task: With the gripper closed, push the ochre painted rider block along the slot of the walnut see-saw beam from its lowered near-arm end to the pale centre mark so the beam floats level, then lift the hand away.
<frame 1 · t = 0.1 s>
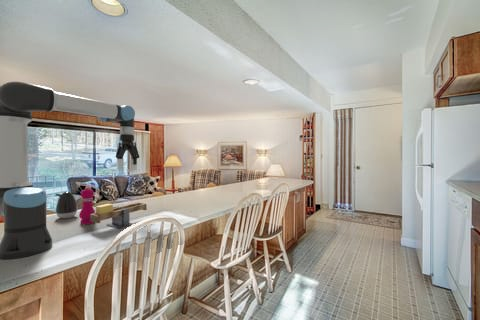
hand: (127, 169, 134), 28 cm above the breakfast bar, fingers open, 13 cm apart
magenta figurine: (87, 223, 120), on the breakfast bar
rider: (104, 214, 110), point 7 cm above the breakfast bar, touching beam
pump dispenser: (66, 217, 131), on the breakfast bar
beam: (120, 211, 117), point 7 cm above the breakfast bar, hinge at -2.5°, touching rider
fulcrum: (120, 225, 117), on the breakfast bar
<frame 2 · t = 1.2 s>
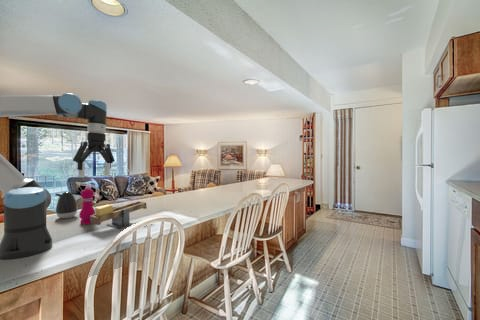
hand: (94, 176, 109), 26 cm above the breakfast bar, fingers open, 13 cm apart
beam: (120, 211, 117), point 7 cm above the breakfast bar, hinge at -6.1°, touching rider
everything else where it was.
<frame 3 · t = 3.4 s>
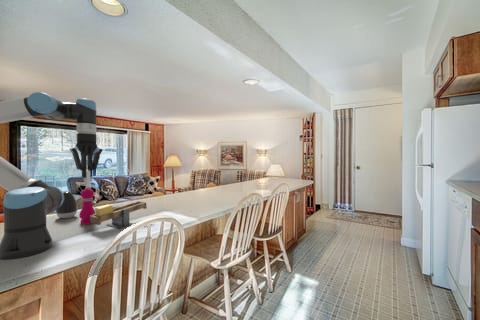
hand: (87, 184, 103), 23 cm above the breakfast bar, fingers closed
nothing on the breakfast bar moved.
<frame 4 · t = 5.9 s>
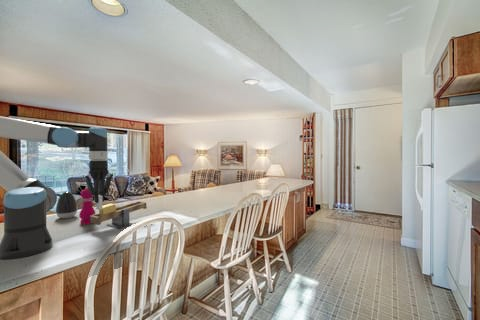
hand: (99, 209, 107), 11 cm above the breakfast bar, fingers closed
rider: (108, 214, 111), point 7 cm above the breakfast bar, tilted 6°, touching gripper
beam: (120, 211, 117), point 7 cm above the breakfast bar, hinge at -6.0°
everything else where it was.
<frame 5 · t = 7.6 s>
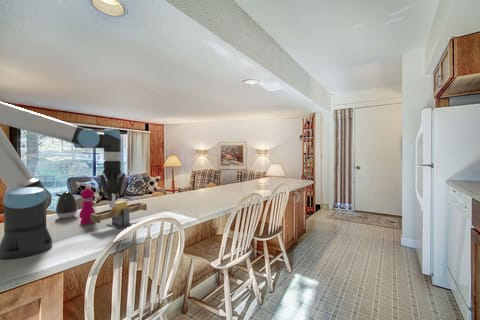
hand: (112, 206, 113), 10 cm above the breakfast bar, fingers closed
rider: (119, 210, 116), point 8 cm above the breakfast bar, touching beam, gripper
beam: (120, 211, 117), point 7 cm above the breakfast bar, hinge at -2.2°, touching rider
everything else where it was.
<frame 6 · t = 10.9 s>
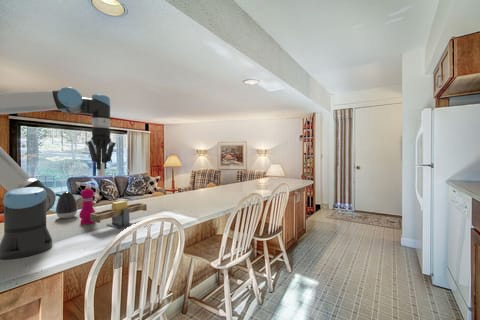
hand: (101, 176, 108), 26 cm above the breakfast bar, fingers closed
rider: (119, 210, 116), point 8 cm above the breakfast bar, touching beam
beam: (120, 211, 117), point 7 cm above the breakfast bar, hinge at -1.2°, touching rider
everything else where it was.
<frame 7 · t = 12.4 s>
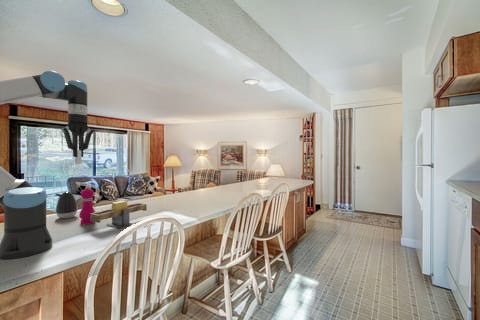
hand: (78, 163, 107), 32 cm above the breakfast bar, fingers closed
nothing on the breakfast bar moved.
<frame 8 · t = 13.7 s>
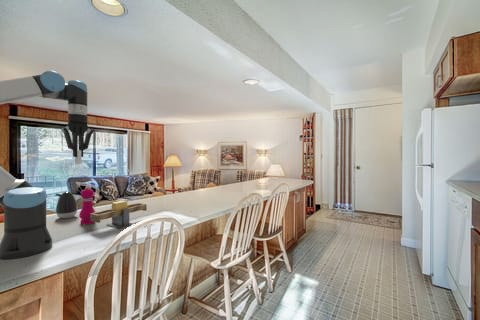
hand: (78, 163, 107), 32 cm above the breakfast bar, fingers closed
nothing on the breakfast bar moved.
at the end: rider 0.4 cm off-centre on the beam, point 0.8 cm above the beam's base; beam at -1° (first picture: -2°); rider touching beam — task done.
